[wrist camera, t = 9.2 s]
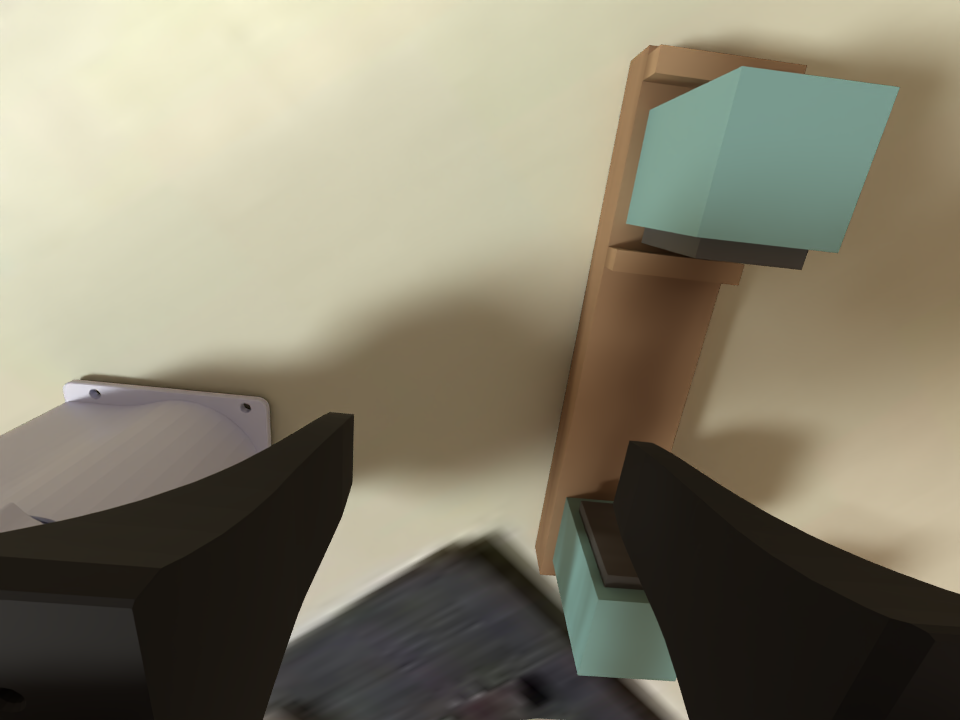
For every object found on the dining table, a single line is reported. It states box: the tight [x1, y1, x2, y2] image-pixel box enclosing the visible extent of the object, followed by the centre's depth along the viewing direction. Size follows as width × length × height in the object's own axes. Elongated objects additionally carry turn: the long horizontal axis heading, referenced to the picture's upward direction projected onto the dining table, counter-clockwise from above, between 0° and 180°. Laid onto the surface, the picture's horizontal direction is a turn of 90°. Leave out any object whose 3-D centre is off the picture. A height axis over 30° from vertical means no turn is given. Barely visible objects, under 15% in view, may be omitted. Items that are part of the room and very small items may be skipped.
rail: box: [535, 45, 807, 681], centre depth 18 cm, size 5×24×8 cm, turn 173°
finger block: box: [626, 66, 900, 270], centre depth 15 cm, size 4×5×6 cm
